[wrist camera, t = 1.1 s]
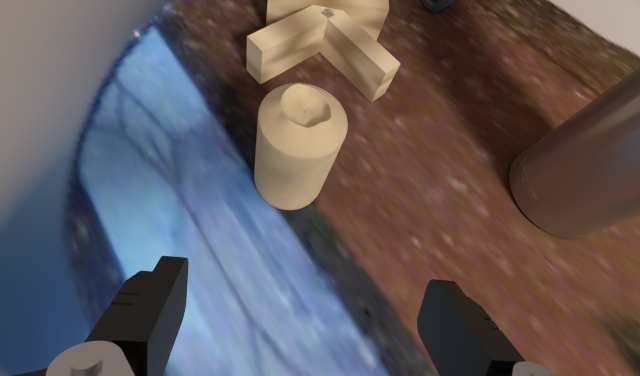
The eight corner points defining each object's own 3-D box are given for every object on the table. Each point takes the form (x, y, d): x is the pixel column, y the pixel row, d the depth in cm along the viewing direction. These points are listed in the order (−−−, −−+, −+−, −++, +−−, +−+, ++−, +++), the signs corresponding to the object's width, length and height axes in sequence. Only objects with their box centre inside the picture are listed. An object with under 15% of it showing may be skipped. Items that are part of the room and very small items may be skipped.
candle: (334, 180, 30) (372, 107, 21) (290, 225, 28) (312, 163, 19) (286, 139, 31) (303, 51, 22) (239, 179, 29) (237, 99, 20)
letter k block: (381, 32, 39) (399, -10, 35) (385, 104, 35) (406, 67, 30) (256, 8, 37) (258, -40, 33) (244, 82, 33) (244, 39, 28)
